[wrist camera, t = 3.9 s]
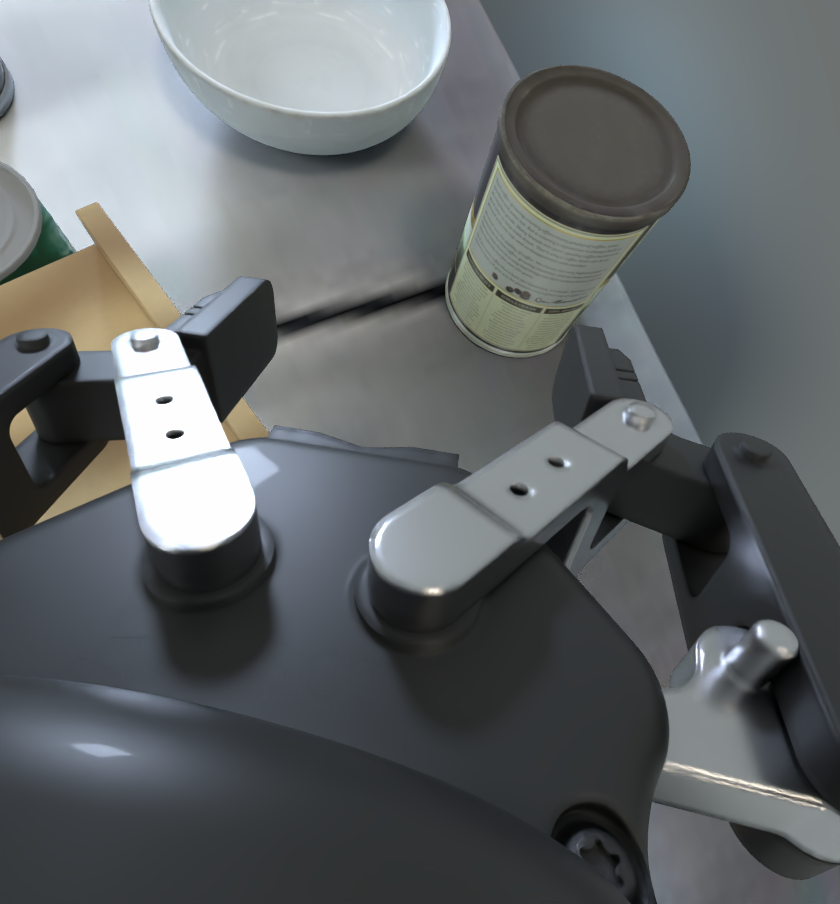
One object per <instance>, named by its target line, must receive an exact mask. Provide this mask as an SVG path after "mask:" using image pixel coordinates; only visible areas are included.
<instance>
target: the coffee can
mask: <svg viewBox="0 0 840 904" xmlns="http://www.w3.org/2000/svg"><path fill="white" fill-rule="evenodd" d="M690 166H691V164H690V153H689V150H688V146H687V143H686V140H685V138H684V136H683V134H682V132H681V130H680V128H679V127H678V125H677V123H676V122H675V121H674V119H673V118H672V116H671V115H670V114H669V112H668V111H667V110H666V109H665V108H664V107H663V106H662V105H661V104H660V103H659V102H658V101H657V100H656V99H654V98H653V97H652V96H651V95H649V94H648V93H647V92H645V91H644V90H643V89H641V88H639V87H638V86H636V85H635V84H633V83H631V82H629V81H627V80H625V79H623V78H621V77H619V76H617V75H615V74H612V73H610V72H606V71H603V70H600V69H596V68H591V67H586V66H577V65H564V66H562V65H560V66H551V67H547V68H543V69H540V70H537V71H534V72H532V73H530V74H529V75H527V76H525V77H524V78H522V79H521V80H519V81H518V82H517V83H516V84H515V85H514V86H513V87H512V88H511V89H510V91H509V92H508V94H507V96H506V97H505V99H504V102H503V104H502V107H501V110H500V114H499V117H498V122H497V130H496V134H495V137H494V139H493V143H492V145H491V148H490V152H489V154H488V158H487V161H486V164H485V167H484V169H483V173H482V176H481V179H480V182H479V185H478V188H477V191H476V194H475V197H474V201H473V204H472V207H471V210H470V213H469V216H468V219H467V222H466V225H465V228H464V231H463V234H462V237H461V239H460V243H459V246H458V248H457V251H456V255H455V257H454V261H453V264H452V267H451V269H450V271H449V273H448V276H447V280H446V285H445V297H446V303H447V307H448V310H449V312H450V314H451V316H452V318H453V320H454V322H455V323H456V325H457V326H458V327H459V329H460V330H461V331H462V332H463V333H464V334H465V335H466V336H467V337H468V338H469V339H470V340H471V341H472V342H474V343H475V344H476V345H478V346H480V347H482V348H484V349H486V350H487V351H490V352H492V353H495V354H498V355H502V356H506V357H514V358H520V357H524V358H527V357H532V356H536V355H540V354H542V353H545V352H547V351H549V350H551V349H552V348H554V347H555V346H556V345H558V344H559V343H560V342H561V341H562V340H563V339H564V337H565V336H566V334H567V332H568V331H569V329H570V328H571V326H572V325H573V324H574V323H575V322H576V321H577V319H578V318H579V317H580V316H581V315H582V313H583V312H584V311H585V310H586V308H587V307H588V306H589V305H590V304H591V302H592V301H593V300H594V299H595V297H596V296H597V295H598V294H599V292H600V291H601V290H602V289H603V288H604V286H605V285H606V284H607V283H608V282H609V280H610V279H611V278H612V277H613V275H614V274H615V273H616V272H617V270H618V269H619V268H620V267H621V265H622V264H623V263H624V262H625V260H626V259H627V258H628V257H629V256H630V254H631V253H632V252H633V251H634V249H635V248H636V247H637V246H638V245H639V243H640V242H641V241H642V240H643V239H644V237H645V236H646V235H647V234H648V232H649V231H650V230H651V228H652V227H653V226H654V225H655V224H656V222H657V221H658V220H659V219H660V218H661V217H662V216H663V215H665V214H666V213H667V212H668V211H669V210H670V209H671V208H672V207H673V206H674V204H675V203H676V202H677V201H678V199H679V198H680V197H681V195H682V194H683V192H684V190H685V189H686V186H687V183H688V180H689V176H690Z"/></svg>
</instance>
